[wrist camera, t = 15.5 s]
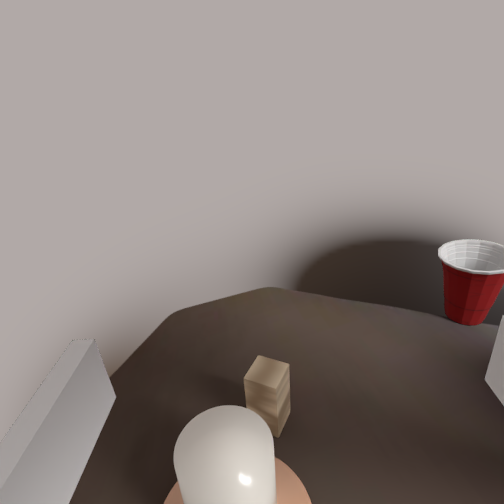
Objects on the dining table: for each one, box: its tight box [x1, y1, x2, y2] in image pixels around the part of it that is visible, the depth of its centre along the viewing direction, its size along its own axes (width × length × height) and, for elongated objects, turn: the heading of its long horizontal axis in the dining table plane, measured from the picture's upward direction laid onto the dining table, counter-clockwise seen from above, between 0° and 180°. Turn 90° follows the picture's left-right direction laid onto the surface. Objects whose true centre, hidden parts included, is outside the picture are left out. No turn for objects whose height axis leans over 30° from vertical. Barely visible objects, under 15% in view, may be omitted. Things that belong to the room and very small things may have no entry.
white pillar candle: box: [173, 405, 277, 504], centre depth 31 cm, size 8×8×11 cm
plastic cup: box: [438, 239, 504, 325], centre depth 57 cm, size 11×11×12 cm
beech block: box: [244, 355, 290, 438], centre depth 43 cm, size 4×4×8 cm
